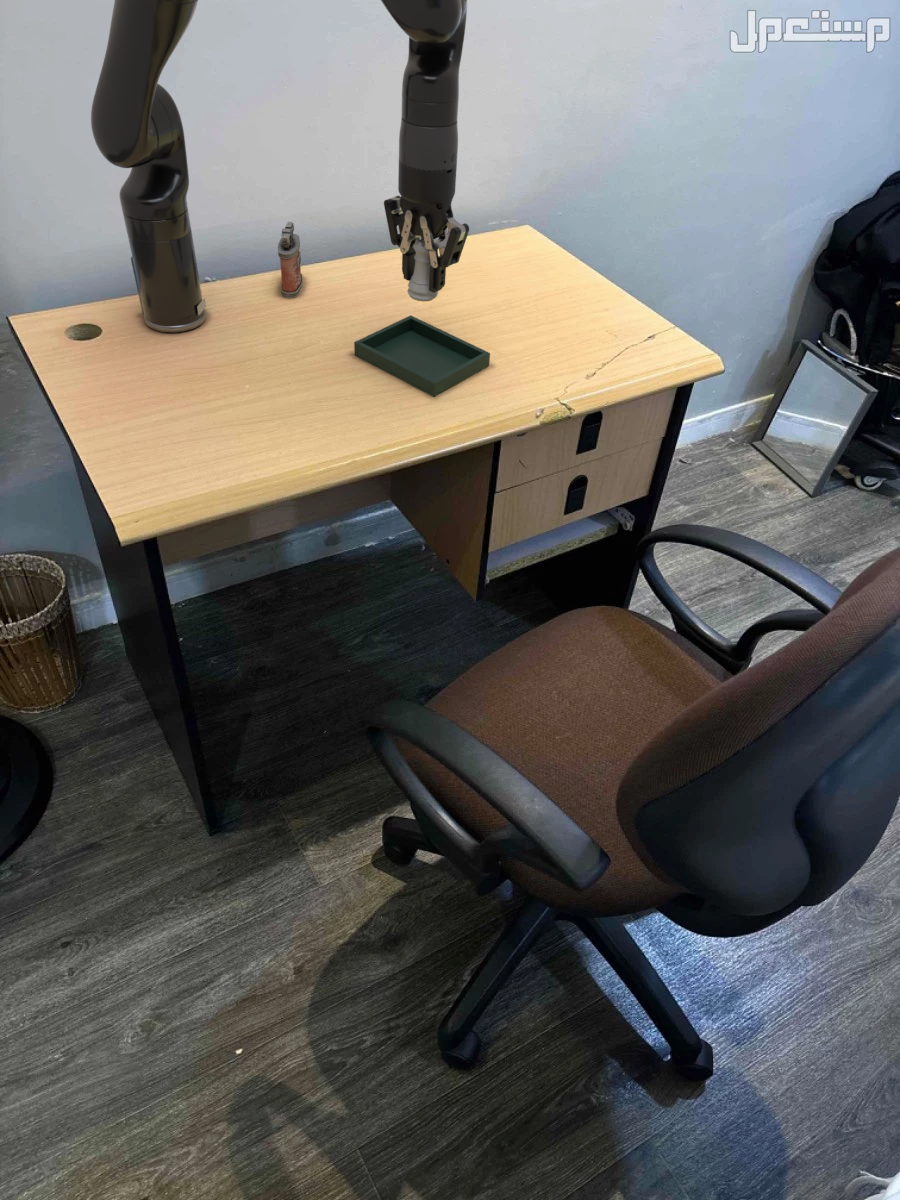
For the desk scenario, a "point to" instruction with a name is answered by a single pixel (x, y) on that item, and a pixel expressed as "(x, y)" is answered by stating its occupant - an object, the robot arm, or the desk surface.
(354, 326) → the desk surface
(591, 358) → the desk surface
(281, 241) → the lighter
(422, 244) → the rook chess piece
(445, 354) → the tray
